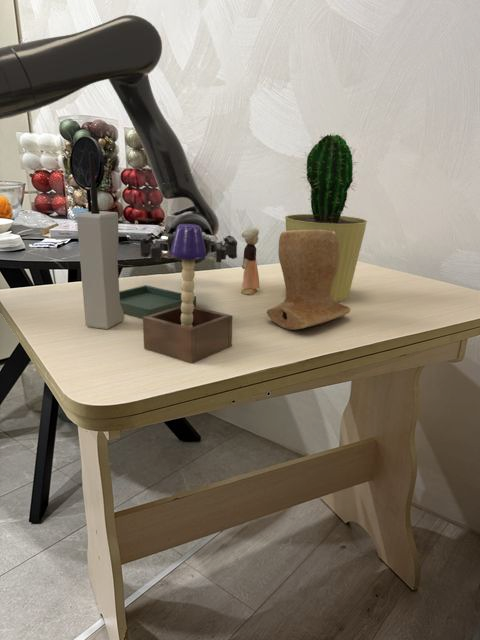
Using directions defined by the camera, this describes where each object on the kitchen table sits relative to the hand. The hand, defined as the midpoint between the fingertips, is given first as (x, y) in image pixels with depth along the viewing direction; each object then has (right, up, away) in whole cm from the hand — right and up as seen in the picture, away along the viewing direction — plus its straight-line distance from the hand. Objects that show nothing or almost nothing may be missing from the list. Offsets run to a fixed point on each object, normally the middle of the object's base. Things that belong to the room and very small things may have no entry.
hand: (188, 254), depth 73 cm
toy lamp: (0, -13, 0) cm, 13 cm away
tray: (-10, -6, +18) cm, 21 cm away
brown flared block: (+17, -9, +14) cm, 24 cm away
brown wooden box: (0, -13, 0) cm, 13 cm away
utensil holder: (-14, -9, +8) cm, 19 cm away
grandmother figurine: (+8, -2, +31) cm, 32 cm away
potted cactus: (+22, -3, +30) cm, 37 cm away
